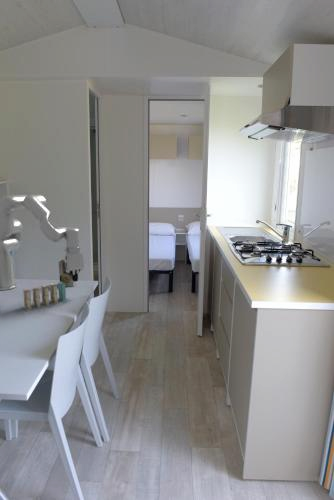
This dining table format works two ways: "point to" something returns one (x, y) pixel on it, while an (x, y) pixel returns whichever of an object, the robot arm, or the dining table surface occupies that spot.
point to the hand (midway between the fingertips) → (75, 280)
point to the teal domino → (62, 291)
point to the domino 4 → (53, 293)
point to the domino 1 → (27, 299)
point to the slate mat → (43, 305)
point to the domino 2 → (36, 297)
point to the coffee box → (65, 275)
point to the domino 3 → (45, 295)
